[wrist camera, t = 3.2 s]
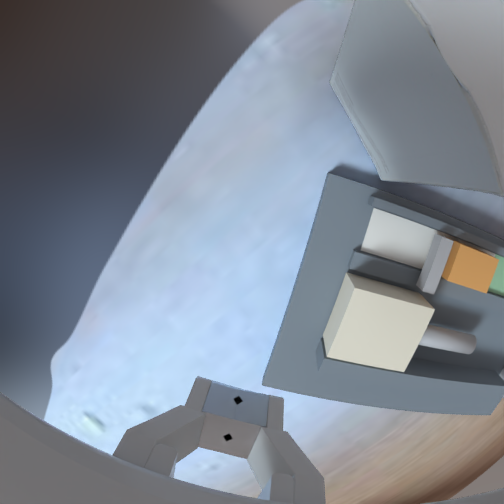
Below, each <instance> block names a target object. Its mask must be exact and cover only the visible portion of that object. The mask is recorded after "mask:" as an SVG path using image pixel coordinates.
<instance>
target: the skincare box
mask: <svg viewBox="0 0 504 504" xmlns="http://www.w3.org/2000/svg"><path fill="white" fill-rule="evenodd" d="M329 83H330V85H331V87H332V89H333V90H334V92H335V94H336V96H337V97H338V99H339V101H340V102H341V104H342V106H343V108H344V109H345V111H346V113H347V115H348V117H349V119H350V121H351V122H352V124H353V126H354V128H355V130H356V132H357V133H358V135H359V137H360V139H361V141H362V143H363V145H364V147H365V149H366V150H367V152H368V154H369V156H370V158H371V159H372V161H373V163H374V165H375V167H376V170H377V172H378V174H379V177H380V179H381V180H382V181H393V182H406V183H416V184H426V185H434V186H442V187H451V188H458V189H466V190H473V191H480V192H485V193H491V194H495V195H498V196H502V197H504V0H355V2H354V5H353V8H352V12H351V15H350V19H349V22H348V25H347V28H346V31H345V34H344V38H343V41H342V44H341V48H340V51H339V54H338V57H337V60H336V64H335V67H334V70H333V73H332V77H331V79H330V82H329Z"/></svg>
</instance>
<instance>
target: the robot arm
mask: <svg viewBox="0 0 504 504" xmlns="http://www.w3.org/2000/svg"><path fill="white" fill-rule="evenodd" d="M283 413H284V399H283V398H282V397H276V396H271V395H265V394H261V393H256V392H252V391H248V390H244V389H240V388H236V387H233V386H229V385H226V384H223V383H219V382H216V381H213V380H212V381H211V380H209V379H205V378H202V377H199V376H198V377H197V378H196V380H195V382H194V385H193V387H192V389H191V392H190V394H189V397H188V399H187V402H186V404H185V406H182V405H180V406H177V407H175V408H173V409H171V410H169V411H167V412H165V413H163V414H161V415H159V416H157V417H154V418H152V419H150V420H148V421H146V422H143V423H141V424H139V425H137V426H134V427H132V428H130V429H128V430H127V431H126V432H125V434H124V436H123V438H122V439H121V441H120V443H119V445H118V446H117V448H116V450H115V452H114V453H113V455H110V454H108V453H106V452H104V451H101V450H99V449H97V448H95V447H93V446H91V445H89V444H87V443H84V442H82V441H80V440H78V439H77V438H75V437H73V436H71V435H69V434H67V433H65V432H63V431H61V430H60V429H58V428H56V427H54V426H52V425H51V424H49V423H47V422H46V421H44V420H42V419H40V418H39V417H37V416H36V415H34V414H32V413H31V412H29V411H27V410H26V409H24V408H23V407H21V406H20V405H18V404H17V403H15V402H14V401H12V400H11V399H9V398H8V397H7V396H5V395H4V394H2V393H1V392H0V504H326V502H325V486H324V477H323V476H322V475H321V474H320V473H319V471H318V470H317V469H316V468H315V466H314V465H313V464H312V463H311V461H310V460H309V459H308V458H307V456H306V455H305V454H304V453H303V451H302V450H301V449H300V448H299V446H298V445H297V444H296V443H295V441H294V440H293V439H292V437H291V436H290V435H289V433H288V432H286V431H283ZM198 447H201V448H205V449H209V450H213V451H217V452H222V453H225V454H229V455H233V456H237V457H241V458H245V459H247V461H248V463H249V465H250V467H251V469H252V471H253V473H254V475H255V477H256V479H257V481H258V483H259V485H260V487H261V489H262V492H261V493H260V495H259V496H258V498H252V497H247V496H241V495H236V494H232V493H227V492H223V491H218V490H214V489H210V488H206V487H202V486H199V485H195V484H191V483H188V482H184V481H181V480H178V479H175V478H173V477H174V471H175V465H176V463H177V462H179V461H180V460H181V459H183V458H184V457H186V456H187V455H189V454H190V453H191V452H193V451H194V450H195V449H197V448H198ZM422 504H504V488H500V489H497V490H493V491H490V492H485V493H481V494H477V495H472V496H467V497H462V498H457V499H451V500H445V501H438V502H431V503H422Z"/></svg>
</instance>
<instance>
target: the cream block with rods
mask: <svg viewBox="0 0 504 504" xmlns="http://www.w3.org/2000/svg"><path fill="white" fill-rule="evenodd" d="M453 242H454V241H452V240H450V239H448V238H446V237H444V236H441V235H438V234H436V233H435V234H434V237H433V240H432V243H431V246H430V249H429V252H428V254H427V257H426V260H425V263H424V266H423V268H422V271H421V274H420V276H419V279H418V281H417V284H416V285H417V286H418V287H419V288H420V289H421V290H422V291H423V292H427V293H430V294H434V293H435V291H436V288H437V286H438V283H439V281H440V278H441V276H442V273H443V270H444V268H445V265H446V262H447V259H448V257H449V254H450V251H451V248H452V245H453ZM434 311H435V309H434V308H433V307H432V306H431V305H430V304H429V302H428V301H427V300H426V299H425V298H424V297H423V296H422V295H421V294H420V293H418V292H415V291H411V290H408V289H404V288H401V287H397V286H393V285H390V284H386V283H383V282H379V281H376V280H372V279H369V278H365V277H361V276H358V275H354V274H351V273H347V272H346V275H345V277H344V280H343V283H342V286H341V289H340V291H339V294H338V297H337V300H336V302H335V305H334V308H333V310H332V313H331V315H330V318H329V321H328V323H327V326H326V328H325V331H324V333H323V338H324V344H325V349H326V355H327V357H330V358H334V359H339V360H344V361H348V362H353V363H358V364H363V365H368V366H374V367H379V368H384V369H390V370H396V371H401V372H404V371H405V369H406V368H407V366H408V364H409V362H410V360H411V358H412V356H413V354H414V352H415V351H416V349H417V347H418V345H423V346H428V347H433V348H438V349H443V350H448V351H453V352H458V353H464V354H471V353H472V352H473V351H474V350H475V347H476V344H477V340H476V337H475V335H472V334H468V333H464V332H459V331H455V330H451V329H447V328H442V327H438V326H434V325H430V324H429V322H430V320H431V317H432V315H433V313H434Z"/></svg>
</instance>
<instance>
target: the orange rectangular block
mask: <svg viewBox="0 0 504 504" xmlns="http://www.w3.org/2000/svg"><path fill="white" fill-rule="evenodd" d="M446 238H448V237H446ZM448 239H450V240H452V241H454V242H453V245H452V248H451V251H450V254H449V257H448V259H447V262H446V265H445V268H444V270H443V273H442V277H443V278H444V279H446V280H447V281H449V282H452V283H456V284H459V285H462V286H465V287H468V288H471V289H474V290H477V291H480V292H483V293H486V294H487V291H488V289H489V286H490V284H491V281H492V278H493V276H494V273H495V270H496V268H497V265H498V262H499V259H497V258H495V257H493V256H491V255H489V254H487V253H485V252H483V251H481V250H478V249H476V248H473V247H471V246H468V245H466V244H463V243H461V242H458V241H456V240H453V239H451V238H448Z"/></svg>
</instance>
